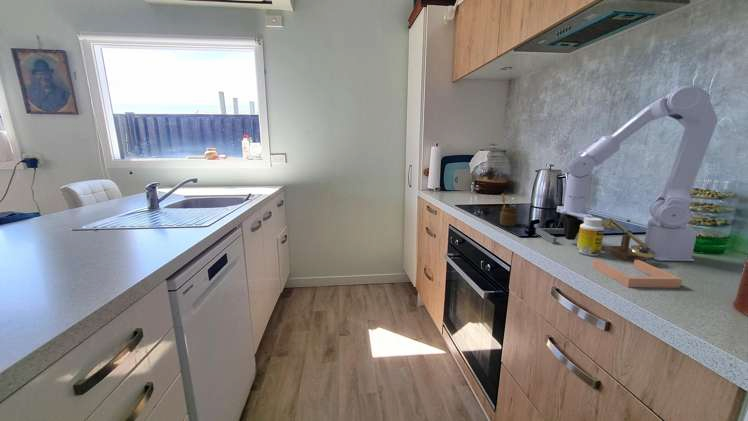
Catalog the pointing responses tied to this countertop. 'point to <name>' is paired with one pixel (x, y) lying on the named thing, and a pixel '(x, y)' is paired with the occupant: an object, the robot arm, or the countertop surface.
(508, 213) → the utensil holder
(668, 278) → the frame
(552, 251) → the countertop surface
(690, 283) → the countertop surface
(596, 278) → the countertop surface
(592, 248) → the supplement bottle
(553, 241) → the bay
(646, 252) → the balance beam
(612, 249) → the stand
